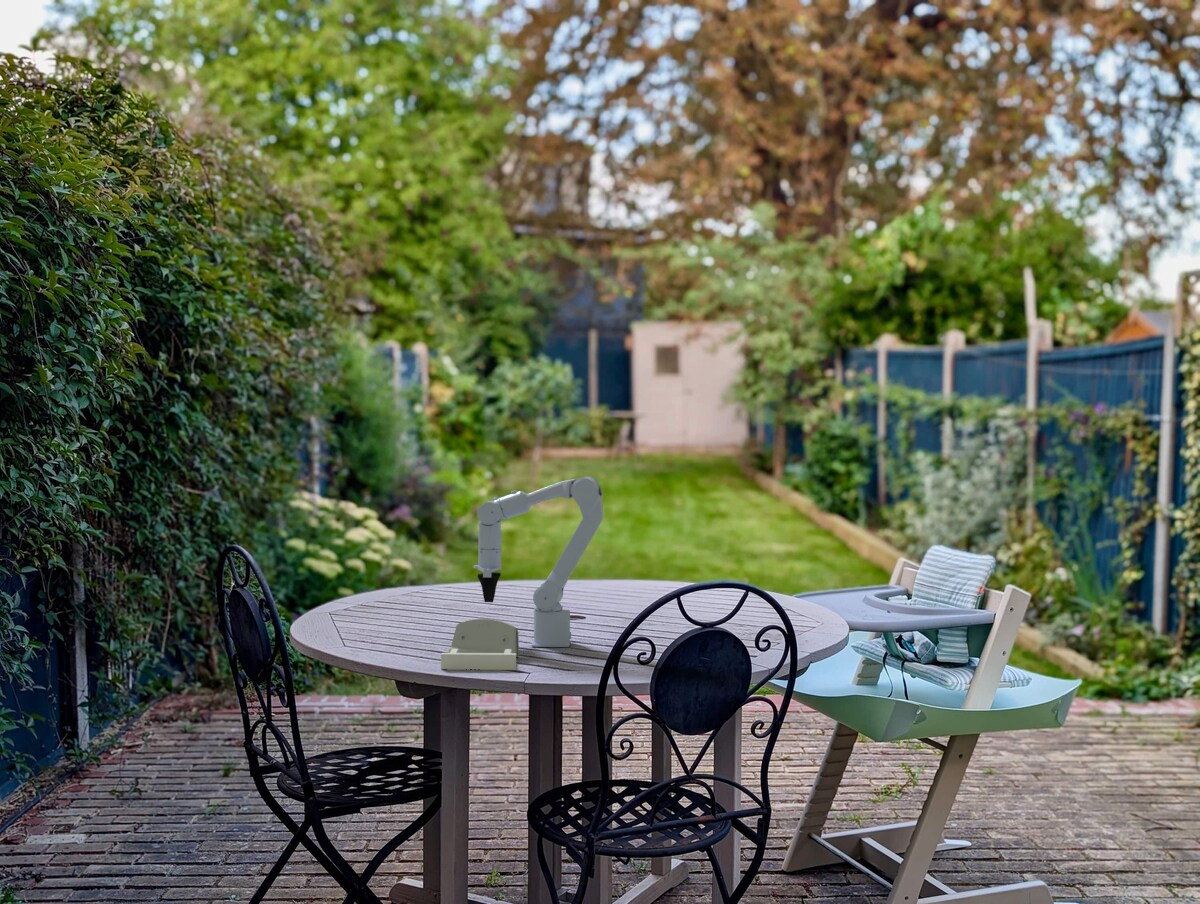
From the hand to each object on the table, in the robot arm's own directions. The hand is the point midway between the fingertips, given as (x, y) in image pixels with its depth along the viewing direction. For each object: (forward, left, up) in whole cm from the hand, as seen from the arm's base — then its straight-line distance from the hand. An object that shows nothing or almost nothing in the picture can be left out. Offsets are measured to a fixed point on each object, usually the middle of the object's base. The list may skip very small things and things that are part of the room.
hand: (488, 601), depth 287 cm
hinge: (-1, +16, -11) cm, 19 cm away
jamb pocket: (0, +26, -10) cm, 28 cm away
